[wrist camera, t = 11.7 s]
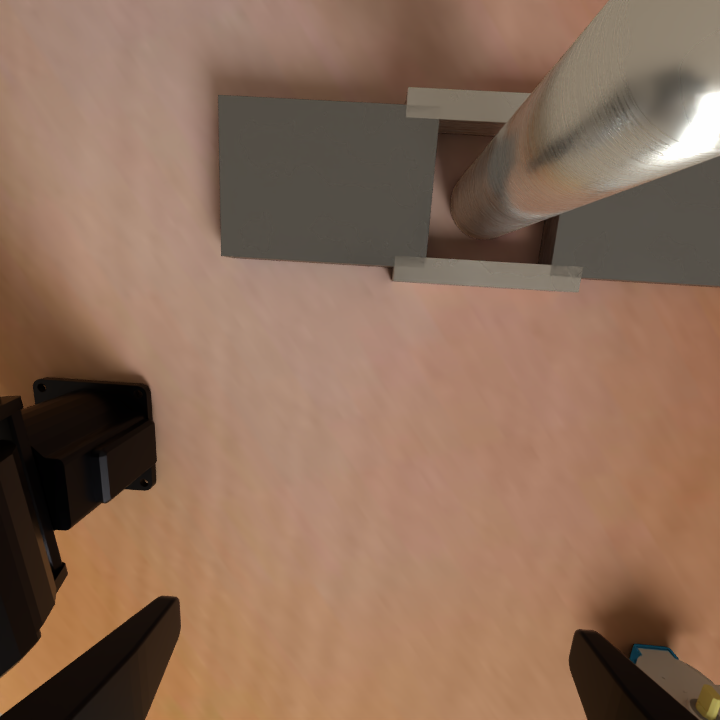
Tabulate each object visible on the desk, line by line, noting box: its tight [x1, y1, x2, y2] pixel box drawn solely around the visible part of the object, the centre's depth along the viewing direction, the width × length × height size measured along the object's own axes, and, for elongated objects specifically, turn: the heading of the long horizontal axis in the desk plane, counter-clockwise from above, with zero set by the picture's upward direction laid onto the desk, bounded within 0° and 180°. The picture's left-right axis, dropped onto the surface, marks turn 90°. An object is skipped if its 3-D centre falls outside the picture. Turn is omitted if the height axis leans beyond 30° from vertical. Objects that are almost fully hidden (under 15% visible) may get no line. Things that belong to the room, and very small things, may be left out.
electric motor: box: [630, 644, 720, 720], centre depth 21 cm, size 7×5×5 cm
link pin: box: [450, 0, 720, 240], centre depth 12 cm, size 4×4×13 cm
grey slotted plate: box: [218, 87, 720, 292], centre depth 18 cm, size 26×8×2 cm, turn 87°
